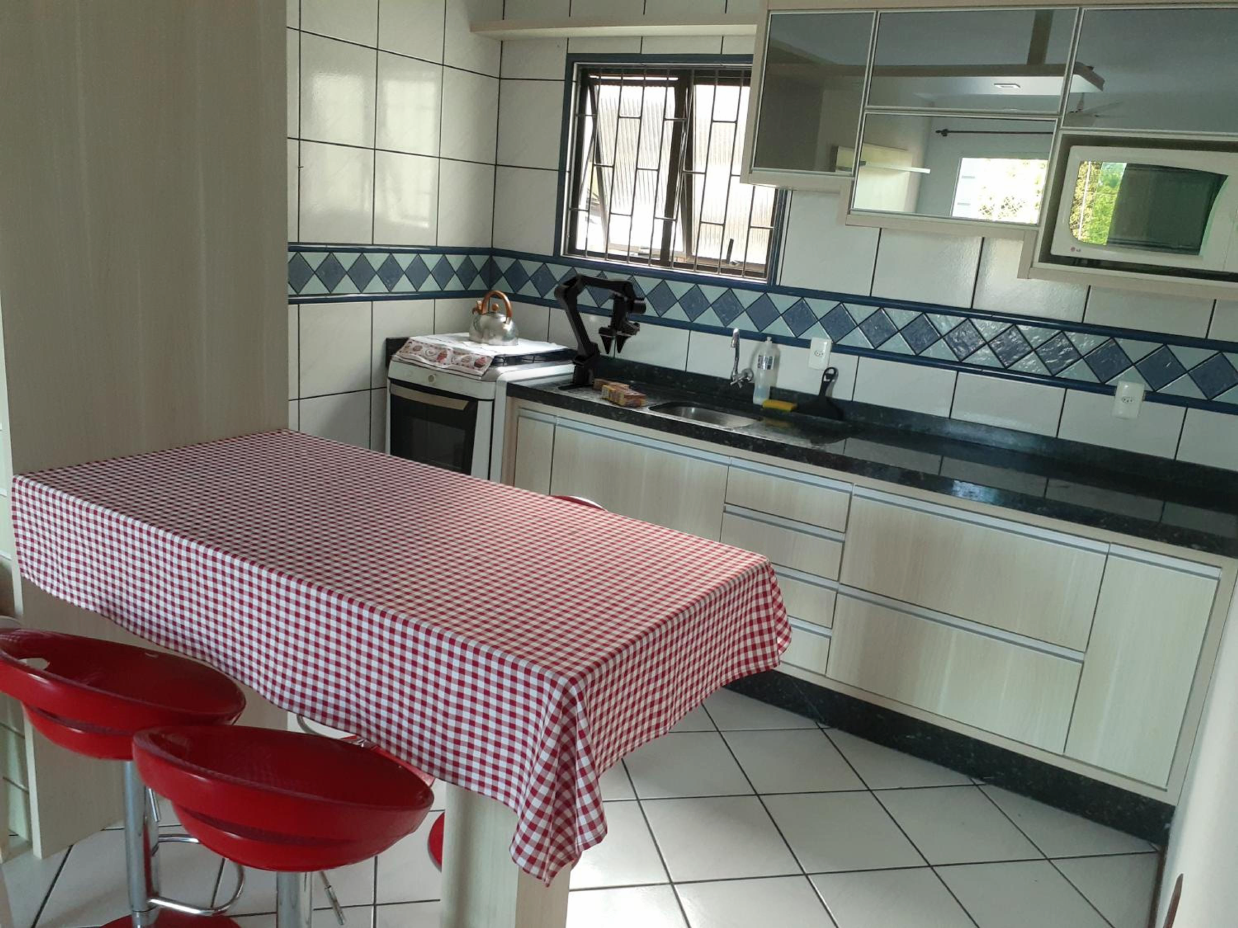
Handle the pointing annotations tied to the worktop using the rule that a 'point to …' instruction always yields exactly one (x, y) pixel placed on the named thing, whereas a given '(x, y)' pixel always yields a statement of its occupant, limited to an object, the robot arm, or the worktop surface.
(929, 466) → the worktop surface
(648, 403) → the charcoal rubber mat
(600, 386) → the tan rectangular block
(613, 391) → the candy box
